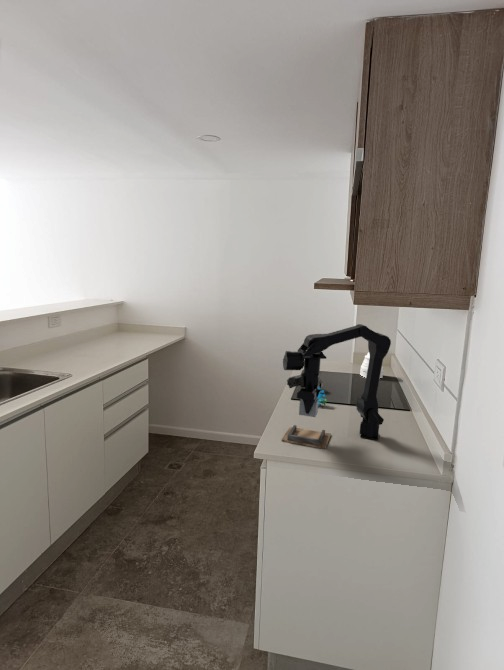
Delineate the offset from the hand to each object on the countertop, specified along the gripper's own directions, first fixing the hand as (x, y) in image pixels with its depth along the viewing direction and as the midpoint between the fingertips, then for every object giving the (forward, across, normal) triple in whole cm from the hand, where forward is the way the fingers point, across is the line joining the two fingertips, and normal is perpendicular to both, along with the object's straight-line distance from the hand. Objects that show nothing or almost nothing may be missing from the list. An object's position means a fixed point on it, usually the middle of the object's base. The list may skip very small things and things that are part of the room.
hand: (308, 411), depth 155 cm
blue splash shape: (+11, -39, -4) cm, 40 cm away
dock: (+10, 0, 0) cm, 11 cm away
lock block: (+1, 0, 0) cm, 1 cm away
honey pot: (+11, -104, +18) cm, 106 cm away
